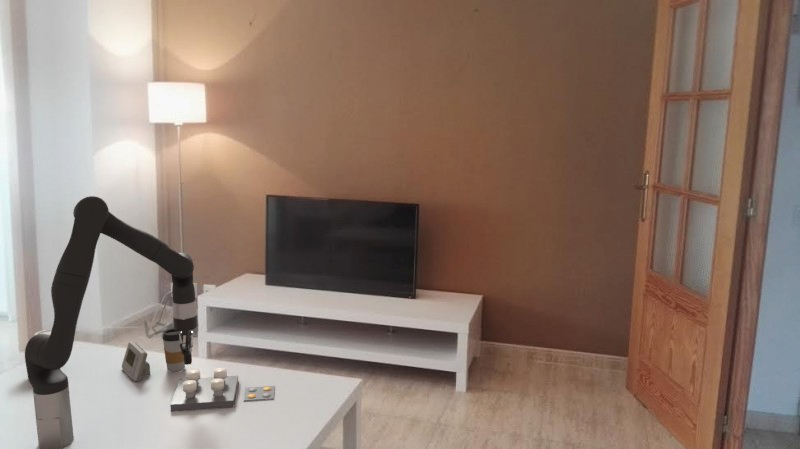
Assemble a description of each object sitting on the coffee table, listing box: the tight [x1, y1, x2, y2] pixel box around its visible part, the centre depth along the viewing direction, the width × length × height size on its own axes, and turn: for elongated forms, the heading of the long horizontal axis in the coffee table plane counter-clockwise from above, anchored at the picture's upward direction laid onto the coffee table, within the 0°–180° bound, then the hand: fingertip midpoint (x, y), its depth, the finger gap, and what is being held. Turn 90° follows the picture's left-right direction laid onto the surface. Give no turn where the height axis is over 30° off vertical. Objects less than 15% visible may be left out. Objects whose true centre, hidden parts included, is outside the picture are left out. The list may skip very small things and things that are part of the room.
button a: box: [183, 380, 197, 398], centre depth 218 cm, size 4×4×5 cm
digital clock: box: [121, 340, 151, 382], centre depth 241 cm, size 16×9×11 cm, turn 27°
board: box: [169, 375, 239, 412], centre depth 224 cm, size 20×20×2 cm
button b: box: [211, 379, 224, 396], centre depth 220 cm, size 4×4×5 cm
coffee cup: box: [162, 328, 186, 374], centre depth 245 cm, size 8×8×15 cm
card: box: [243, 385, 275, 402], centre depth 226 cm, size 10×10×1 cm
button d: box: [213, 367, 228, 384], centre depth 228 cm, size 4×4×5 cm
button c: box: [186, 369, 201, 386], centre depth 227 cm, size 4×4×5 cm
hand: (188, 363), depth 217 cm, fingers closed
